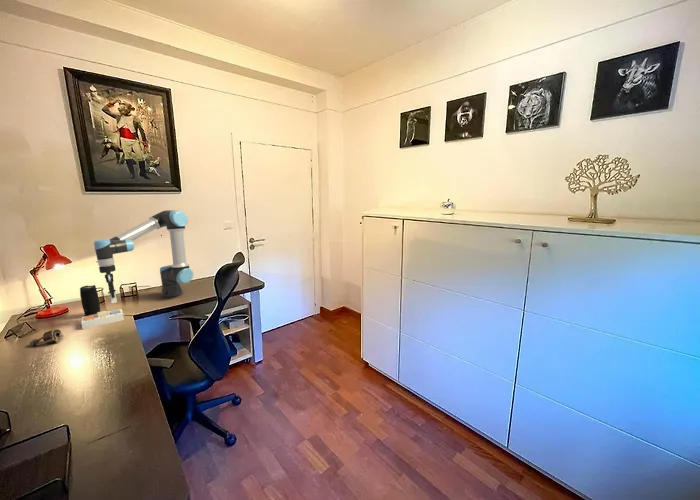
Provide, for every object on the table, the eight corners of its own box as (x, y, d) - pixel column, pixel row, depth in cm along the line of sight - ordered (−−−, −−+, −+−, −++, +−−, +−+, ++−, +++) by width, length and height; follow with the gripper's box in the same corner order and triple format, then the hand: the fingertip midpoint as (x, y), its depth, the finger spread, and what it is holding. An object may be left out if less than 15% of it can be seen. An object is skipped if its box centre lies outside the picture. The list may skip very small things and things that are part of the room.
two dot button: (107, 314, 183) (106, 310, 182) (107, 316, 179) (106, 312, 179) (98, 316, 180) (97, 312, 179) (98, 318, 177) (97, 314, 176)
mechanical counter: (46, 338, 147) (65, 326, 156) (21, 336, 148) (42, 324, 157) (51, 350, 150) (69, 337, 159) (27, 347, 150) (47, 335, 160)
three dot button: (95, 319, 179) (94, 314, 179) (95, 321, 176) (94, 316, 175) (85, 321, 176) (84, 316, 176) (85, 323, 173) (84, 318, 172)
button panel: (122, 314, 191) (121, 308, 190) (123, 319, 182) (122, 313, 181) (83, 323, 179) (81, 316, 178) (82, 329, 170) (81, 322, 169)
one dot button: (119, 314, 187) (119, 309, 186) (120, 315, 183) (119, 311, 183) (111, 315, 184) (110, 311, 183) (111, 317, 181) (110, 313, 180)
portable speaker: (89, 318, 187) (84, 289, 183) (81, 316, 190) (75, 287, 187) (104, 313, 194) (99, 285, 191) (96, 311, 198) (90, 284, 194)
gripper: (98, 264, 181) (106, 301, 185) (98, 268, 171) (107, 306, 175) (113, 262, 185) (121, 298, 190) (115, 265, 176) (122, 303, 180)
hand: (114, 302), depth 183 cm, fingers closed
